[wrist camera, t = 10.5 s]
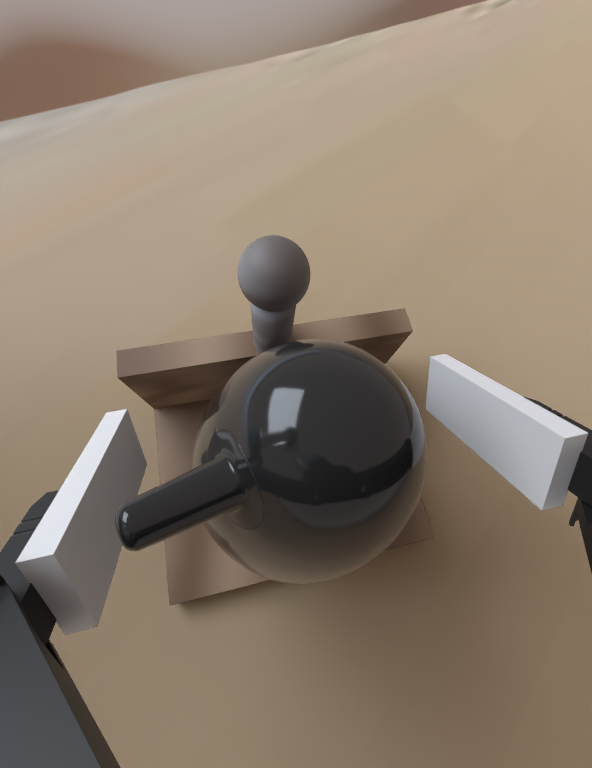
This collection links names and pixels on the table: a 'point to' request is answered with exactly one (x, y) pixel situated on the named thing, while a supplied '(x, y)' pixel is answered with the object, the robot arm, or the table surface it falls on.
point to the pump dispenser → (296, 465)
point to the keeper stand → (210, 371)
